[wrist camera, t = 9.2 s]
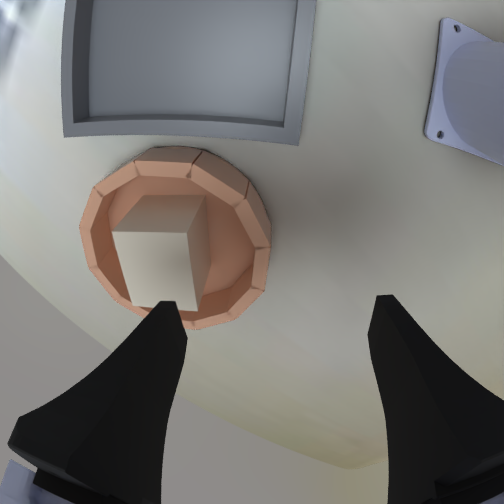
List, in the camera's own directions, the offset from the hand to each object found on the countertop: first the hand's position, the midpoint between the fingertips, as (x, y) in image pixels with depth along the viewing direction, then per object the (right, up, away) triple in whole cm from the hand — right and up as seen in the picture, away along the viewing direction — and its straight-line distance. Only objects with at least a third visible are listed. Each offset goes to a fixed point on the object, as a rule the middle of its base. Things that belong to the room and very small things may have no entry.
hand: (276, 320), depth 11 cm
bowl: (-6, +4, +9) cm, 11 cm away
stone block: (-6, +4, +9) cm, 11 cm away
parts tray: (-4, +15, +2) cm, 15 cm away
